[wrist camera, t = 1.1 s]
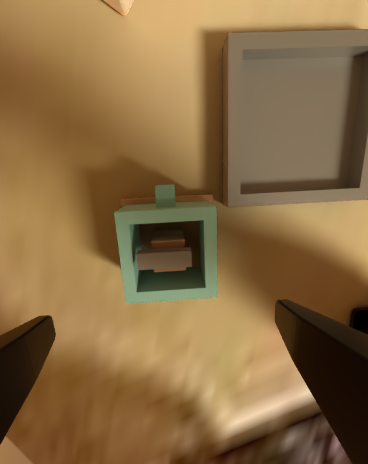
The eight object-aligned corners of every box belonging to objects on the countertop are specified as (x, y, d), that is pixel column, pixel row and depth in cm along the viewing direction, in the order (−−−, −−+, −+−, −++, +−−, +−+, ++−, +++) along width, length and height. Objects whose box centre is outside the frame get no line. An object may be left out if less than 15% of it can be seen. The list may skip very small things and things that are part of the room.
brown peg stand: (212, 275, 21) (225, 306, 16) (131, 281, 21) (118, 314, 16) (211, 193, 19) (225, 199, 14) (121, 198, 19) (102, 206, 14)
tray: (350, 197, 20) (369, 199, 18) (222, 204, 20) (228, 207, 18) (371, 45, 17) (397, 28, 15) (221, 49, 17) (228, 32, 15)
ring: (209, 274, 20) (217, 297, 17) (134, 279, 20) (125, 304, 16) (207, 181, 18) (216, 182, 14) (124, 186, 18) (110, 188, 14)
